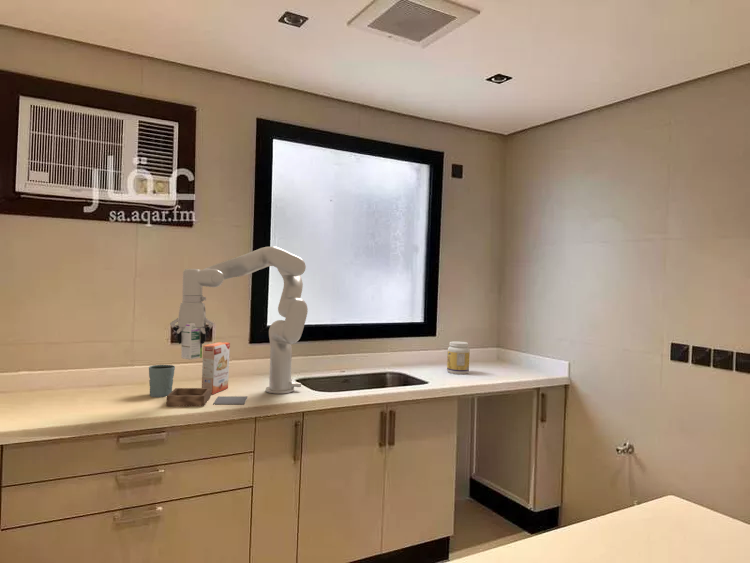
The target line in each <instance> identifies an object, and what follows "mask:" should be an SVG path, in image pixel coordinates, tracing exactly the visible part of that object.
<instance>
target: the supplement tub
mask: <svg viewBox="0 0 750 563" xmlns="http://www.w3.org/2000/svg"><path fill="white" fill-rule="evenodd" d="M448 345H449V346H448V347H447V361H446V372H448V374H453V375H466V374H469V371H470V353H471V352H470V351H471V350H470V348H469V343H468V342H467V341H459V340H457V341H456V340H455V341H454V340H453V341H449V344H448Z"/></svg>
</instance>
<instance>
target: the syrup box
mask: <svg viewBox="0 0 750 563" xmlns="http://www.w3.org/2000/svg"><path fill="white" fill-rule="evenodd" d="M201 334H202V331H201V330H200V328H196V326H195V323H187V324H186V327H185V328H183V329H182V330H181V344H180V346H181V347H180V348H181V352H180V353H181V356H180V357H181V359H185V360H195V359H203V344H202V343H201Z"/></svg>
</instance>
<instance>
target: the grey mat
mask: <svg viewBox="0 0 750 563" xmlns="http://www.w3.org/2000/svg"><path fill="white" fill-rule="evenodd" d="M247 399H248V396H241V395H240V396H239V395H238V396H236V395H235V396H226V395H225V396H223V395H222V396H220V395H219V396H217V397H216V399H215V400H214V402H213V404H212V405H214V404H215V405H216V406H217V405H220V406H221V405H227V406H228V405H229V406H231V405H237V406H238V405H245V403H246V401H247Z"/></svg>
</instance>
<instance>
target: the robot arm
mask: <svg viewBox="0 0 750 563" xmlns="http://www.w3.org/2000/svg"><path fill="white" fill-rule="evenodd" d="M268 267H273V268H276V269H277V272H278V273H279V275H280V276H281V278H282V281H283V288H282V292H281V296H280V299H279V303H278V306H277V312H278V315H279V316H281V317H283V318H284V319H283V320H282V319H278V320H275V321H274V322H272V324H270V326H269V329H268V338H269V346H270V347H269V352H270V353H269V385H268V386H267V387H266V388H265V392H266V393H270V394H276V395H277V394H279V395H280V394H289V393H290V394H291V393H293V392H294V391H295V388H301V387H302V383H301V382H297V381H296V382H294V381H293V379H292V360H293V359H292V355H293V349H292V348H293V347H292V345H293V344H296V343H297V342H298V341H299V340H300V339H301V337H302V334H303V331H304V328H305V323H306V321H307V317H308V311H309V310H308V305H307V302H306V301H305V300H304V299H302V298H301V297H302V292H303V287H304V286H303V285H304V284H303V280H302V279H303V278H302V277H301V275H303V274H304V272H305V271H306V270H307V269H306V267H307V266H306V262H305V260H304V259H302V257H300V256H297V255H295V254H293V253H291V252H289V251H287V250H285V249H282V248H280V247H278V246H265V247H260V248H258V249H256V250H252V251H249V252H247V253H244V254H242V255H239V256H237V257H233V258H230V259H228V260H225V261H222V262H219V263H216V264H213V265H210V266H207V267H205V268H203V269H199V268H186V269H184V270H183V272H182V299H181V300H182V302H180V305H179V311H178V317H177V318H175V319H174V320H172V321H171V322H170V323H169V325H170V326H171V329H173V331H175V333H176V334H177V338H176V339H177V342H178V344H179V345H181V330H182V329H183V328H185V327H186V324H187V323H195V326H196V328H200V330H201V331H202V334H201V343H202V345H203V344H205V342H206V341H207V334H208V332H209V331H210V330H211V329H212V328H213V326H214V322H213V321H211V320H209V319H208V318H207V316H206V314H207V313H206V306H205V305H206V304H205V303H204V302H203V301H207V296H203V287H208V288H218V287H220V286H221V285H222V284H223V283H224V281H225V280H228V279H231V278H238V277H240V278H241V277H244V276H247V275H250V274H253V273H255V272H257V271H259V270H263V269H265V268H268ZM176 324H178V326H177V325H176ZM207 324H208V326H207V327H206V325H207ZM178 327H179V328H178ZM205 327H206V328H205Z"/></svg>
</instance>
